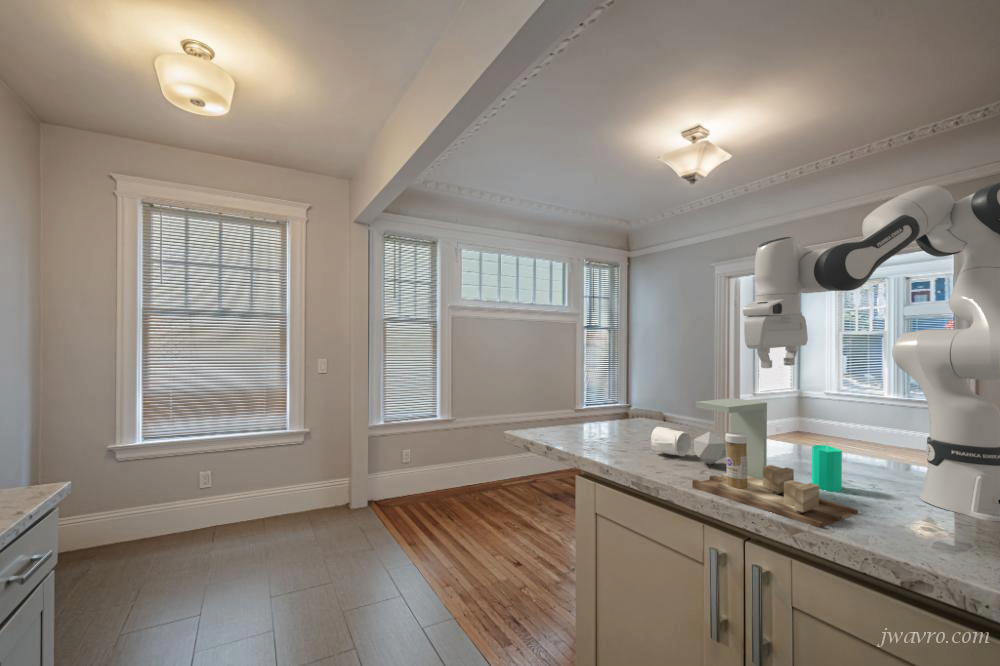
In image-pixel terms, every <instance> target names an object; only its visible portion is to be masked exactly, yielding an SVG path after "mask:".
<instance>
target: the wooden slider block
mask: <svg viewBox="0 0 1000 666" xmlns="http://www.w3.org/2000/svg"><path fill="white" fill-rule="evenodd" d="M794 473H795V471H794V468H791V467H779V466H776V465H771V464H768V465H766V466H763V480H760V479H756V478H753V477H750V476H747V486H750V487H753V488H756V489H760V490H763V491H766V492H769V493H772V494H779V493H783V492H784V482H786V481H790V480H793V481H795V479H794V478H795V476H794V475H795V474H794ZM721 477H722V478H724V479H727V472H726V473H722V474H721Z"/></svg>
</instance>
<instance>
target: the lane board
mask: <svg viewBox="0 0 1000 666" xmlns="http://www.w3.org/2000/svg"><path fill="white" fill-rule="evenodd" d="M724 481H727V479H724V478H722V476H717V475H710V476H709V479H706V480H698V479H692V485H691V486H692V488H693V489H696V490H697V491H698V490H699V491H702V492H705V493H708V494H710V495H714V496H717V497H720V498H723V499H727V500H730V501H733V502H735V503H739V504H742V505H745V506H747V507H752V508H755V509H758V510H762V511H765V512H767V511H768V513H770V512H772V513H771V514H774V513H775V514H774V515H777V516H781V517H783V518H787V519H790V520H792V521H796V522H798V523H799V522H800V523H803V524H805V523H806V525H808V524H810V525H809V526H811V525H812V526H811V527H815V528H819V529H822V528H824V527H827V526H829V525H831V524H835V523H837V522H840V521H842V520H845V519H848V518H851V517H853V516H855V515H858V514H859V509H858V508H854V507H850V506H847V505H844V504H840V503H836V502H833V501H830V500H828V499H827V500H826V499H824V498H821V497H819V507H817V508H814V509H811V510H809V511H806V512H803V513H800V514H797V513H794V512H791V511H788V510H785V509H782V508H779V507H776V506H773V505H770V504H767V503H764V502H761V501H758V500H755V499H752V498H749V497H746V496H743V495H740V494H737V493H734V492H731V491H728V490H725V489H722V488H719V487H718V483H720V482H724ZM776 495H779V496H782V497H784V492H783V493H779V494H776Z"/></svg>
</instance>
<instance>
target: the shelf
mask: <svg viewBox="0 0 1000 666" xmlns="http://www.w3.org/2000/svg"><path fill="white" fill-rule="evenodd" d="M695 408H696V409H702V410H707V411H712V412H713V411H714V412H719V413H723V414H724V413H725V414H730V415H729V416H730V425H729V427H730V428H729V429H730V431H729V433H742V434H745V435H747V443H746V444H747V445H746V451H747V476H750V477H753V478H756V479H760V480H763V466H767V459H768V458H767V448H768V447H767V443H768V442H767V441H768V440H767V439H768V437H767V434H768V431H767V429H768V402H765V401H758V400H757V401H756V400H752V399H744V398H743V399H742V398H737V397H731V398H719V399H718V398H717V399H710V400H708V399H707V400H701V401H695Z"/></svg>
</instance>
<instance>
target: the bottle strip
mask: <svg viewBox="0 0 1000 666" xmlns="http://www.w3.org/2000/svg"><path fill="white" fill-rule="evenodd" d="M718 487H719V488H722V489H725V490H728V491H731V492H734V493H737V494H740V495H743V496H746V497H749V498H752V499H755V500H758V501H761V502H764V503H767V504H770V505H773V506H776V507H779V508H782V509H785V510H788V511H791V512H794V513H797V514H800V513H803V512H806V511H809V510H811V509H814V508H817V507H819V498H820V490H819V485H816V484H812V482H811V483H804V482H800V481H796V480H794V481H793V480H790V481H786V482H784V497H782V496H779V495H776V494H772V493H769V492H766V491H763V490H760V489H756V488H753V487H750V486H747V488H746V489H737V488H732V487H730V486H728V485H727V481H724V482H720V483H718Z"/></svg>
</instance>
